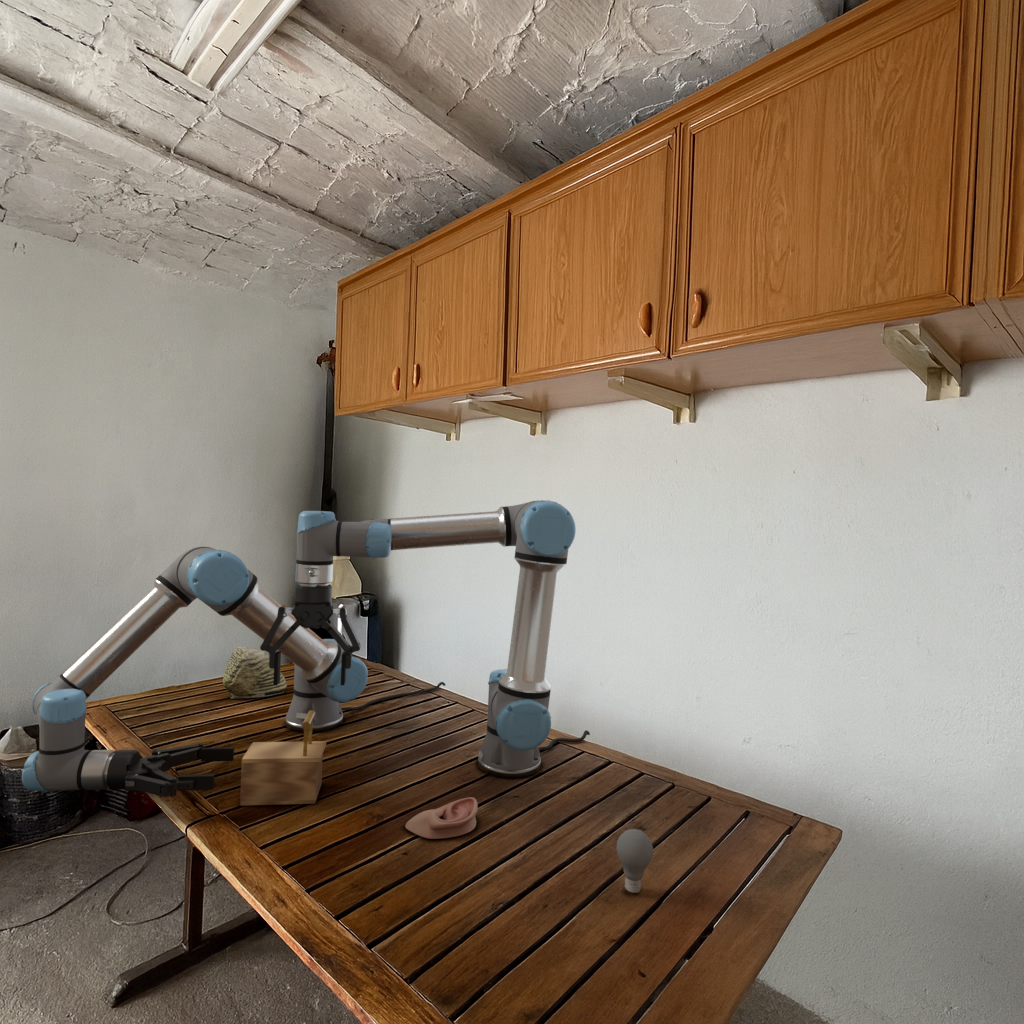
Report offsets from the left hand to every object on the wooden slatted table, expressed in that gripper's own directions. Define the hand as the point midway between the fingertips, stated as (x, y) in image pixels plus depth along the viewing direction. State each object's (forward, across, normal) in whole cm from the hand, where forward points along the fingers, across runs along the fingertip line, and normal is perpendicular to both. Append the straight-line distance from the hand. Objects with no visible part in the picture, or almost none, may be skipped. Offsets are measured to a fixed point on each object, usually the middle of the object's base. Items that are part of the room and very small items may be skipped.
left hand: (224, 767), depth 132 cm
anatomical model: (+45, +14, -6) cm, 47 cm away
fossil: (-10, -68, -6) cm, 70 cm away
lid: (+12, -1, +2) cm, 12 cm away
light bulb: (+76, +38, -6) cm, 85 cm away
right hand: (+17, 0, +17) cm, 24 cm away
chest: (+12, 0, -6) cm, 13 cm away
